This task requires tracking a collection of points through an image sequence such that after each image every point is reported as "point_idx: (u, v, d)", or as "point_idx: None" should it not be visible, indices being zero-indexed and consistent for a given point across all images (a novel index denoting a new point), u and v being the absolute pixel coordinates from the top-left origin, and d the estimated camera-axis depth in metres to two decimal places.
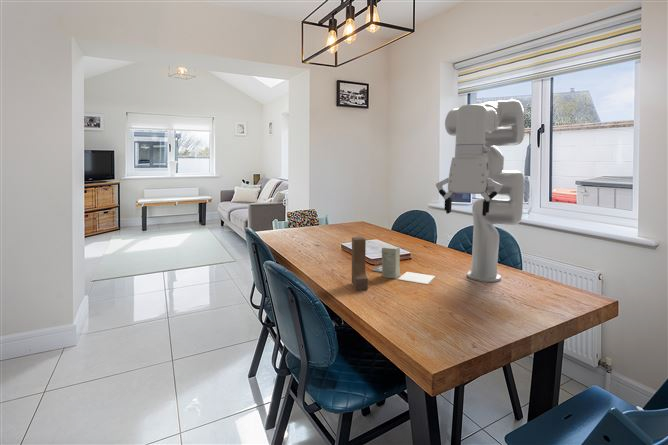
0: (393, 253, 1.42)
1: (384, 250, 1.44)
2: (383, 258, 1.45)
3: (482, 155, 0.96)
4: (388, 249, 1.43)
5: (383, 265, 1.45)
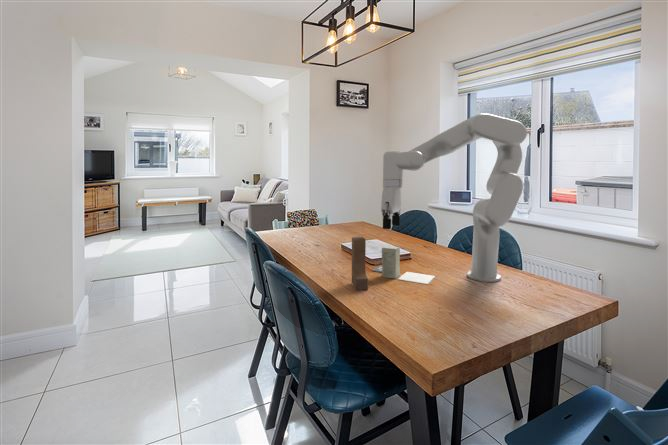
0: (393, 253, 1.42)
1: (384, 250, 1.44)
2: (383, 258, 1.45)
3: None
4: (388, 249, 1.43)
5: (383, 265, 1.45)
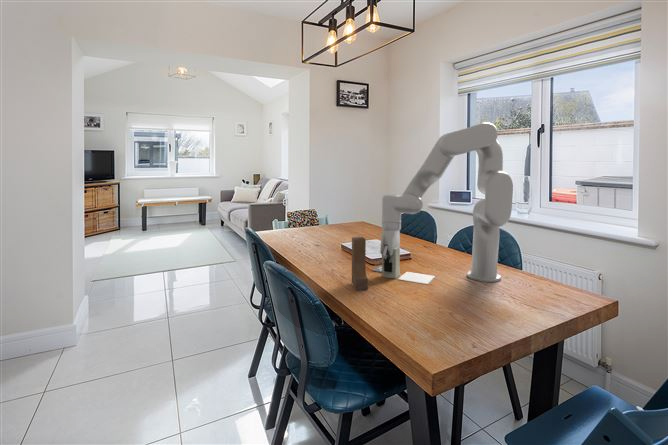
0: None
1: None
2: (383, 258, 1.45)
3: None
4: None
5: (383, 265, 1.45)
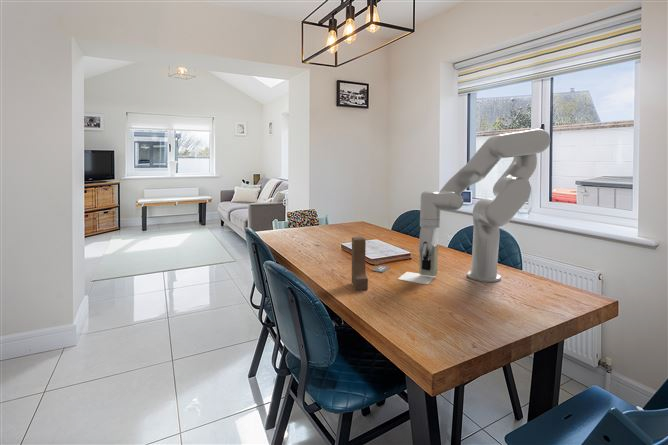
0: (432, 250, 1.40)
1: (422, 248, 1.42)
2: (421, 256, 1.43)
3: None
4: None
5: (421, 263, 1.43)
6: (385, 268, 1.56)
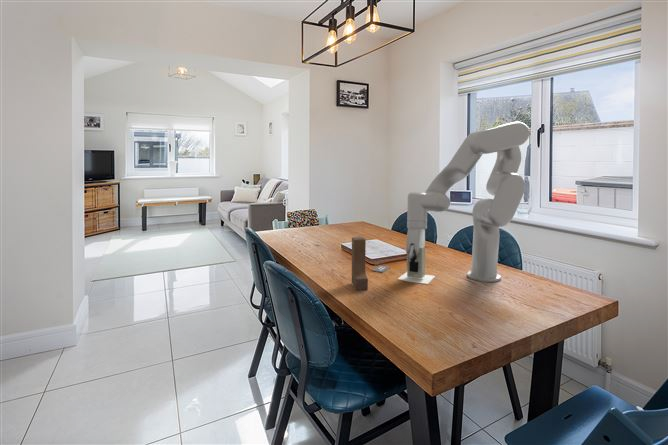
0: None
1: None
2: (408, 257, 1.41)
3: None
4: None
5: (408, 265, 1.41)
6: (385, 268, 1.56)
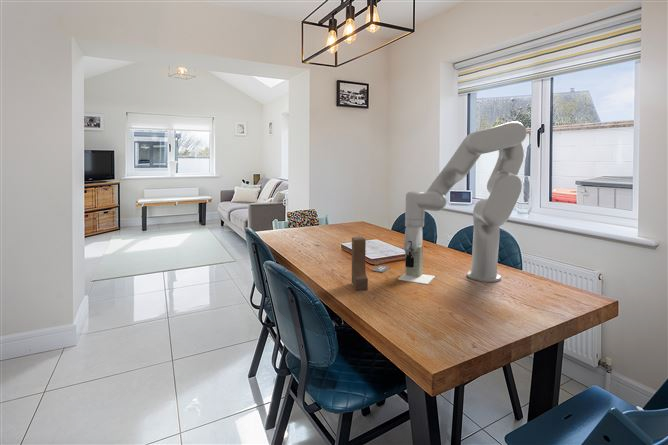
0: (417, 251, 1.43)
1: None
2: None
3: None
4: None
5: None
6: (385, 268, 1.56)
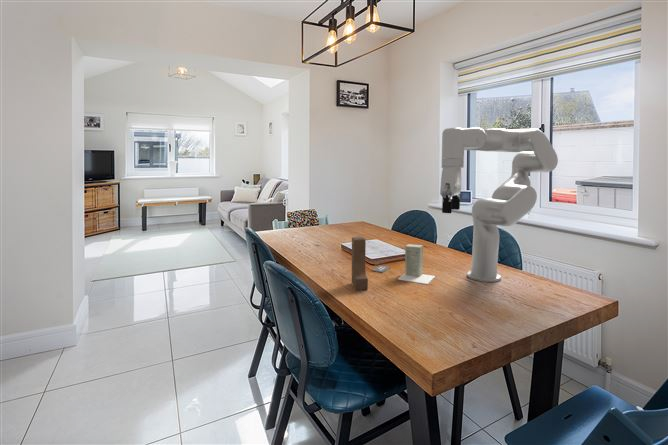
0: (417, 251, 1.43)
1: (407, 249, 1.45)
2: (406, 256, 1.46)
3: None
4: (412, 247, 1.44)
5: (406, 263, 1.46)
6: (385, 268, 1.56)
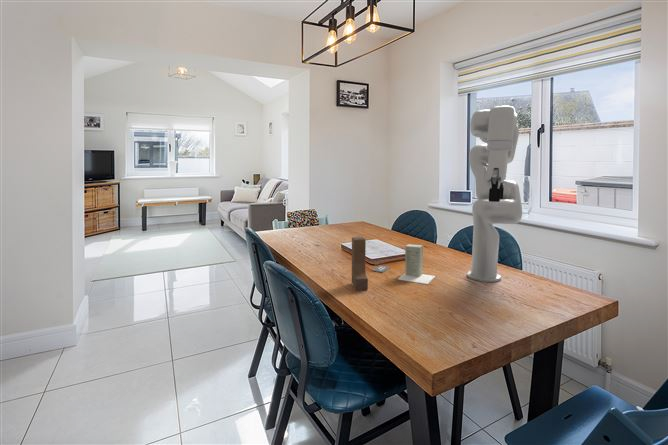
0: (417, 251, 1.43)
1: (407, 249, 1.45)
2: (407, 256, 1.46)
3: None
4: (412, 247, 1.44)
5: (406, 263, 1.46)
6: (385, 268, 1.56)
